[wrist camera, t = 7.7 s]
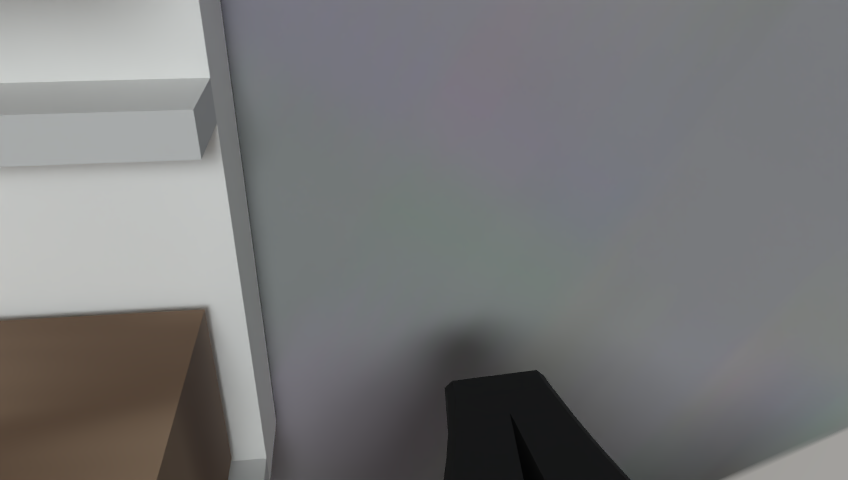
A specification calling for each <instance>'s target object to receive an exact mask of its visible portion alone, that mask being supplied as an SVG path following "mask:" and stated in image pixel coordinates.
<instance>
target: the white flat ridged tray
mask: <svg viewBox="0 0 848 480" xmlns="http://www.w3.org/2000/svg"><path fill="white" fill-rule="evenodd" d="M200 309H205V314H206V319H207V325H208V330H209V336H210V341H211V347H212V352H213V358H214V363H215V369H216V374H217V380H218V385H219V391H220V396H221V402H222V407H223V413H224V418H225V424H226V429H227V435H228V440H229V446H230V451H231V457H232V458H231V464H230V470H229V476H228V480H270V478H271V468H272V459H273V449H274V440H275V430H276V416H275V408H274V401H273V393H272V385H271V378H270V370H269V363H268V355H267V348H266V340H265V333H264V325H263V318H262V310H261V303H260V295H259V288H258V280H257V273H256V265H255V258H254V250H253V243H252V235H251V228H250V220H249V213H248V205H247V198H246V190H245V183H244V175H243V168H242V160H241V153H240V145H239V138H238V130H237V123H236V115H235V108H234V100H233V93H232V85H231V78H230V70H229V63H228V55H227V48H226V40H225V33H224V25H223V18H222V10H221V3H220V0H0V321H4V320H22V319H40V318H57V317H75V316H93V315H111V314H129V313H147V312H165V311H183V310H200Z"/></svg>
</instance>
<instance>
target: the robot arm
mask: <svg viewBox="0 0 848 480" xmlns="http://www.w3.org/2000/svg"><path fill="white" fill-rule="evenodd" d="M445 397H446V411H447V424H448V445H447V459H446V467H445V475H444V480H630V479H629V478H628V477H627V475H626V474H625V473H624V472H623V471H622V470H621V469H620V468H619V467H618V466H617V465H616V463H615V462H614V461H613V460H612V459H611V458H610V457H609V456H608V455H607V454H606V453H605V451H604V450H603V449H602V448H601V447H600V446H599V444H598V443H597V442H596V441H595V440H594V439H593V438H592V436H591V435H590V434H589V433H588V432H587V430H586V429H585V428H584V427H583V426H582V424H581V423H580V422H579V421H578V420H577V418H576V417H575V416H574V415H573V413H572V412H571V411H570V410H569V408H568V407H567V406H566V405H565V403H564V402H563V401H562V400H561V398H560V397H559V396H558V394H557V393H556V392H555V390H554V389H553V388H552V386H551V385H550V384H549V382H548V381H547V380H546V378H545V377H544V376H543V375H542V374H541V373H540V372H538V371H537V370H534V371H526V372H519V373H511V374H503V375H495V376H488V377H480V378H472V379H464V380H457V381H452V382H451V383H450V384H449V385H448V386H447V387H446V388H445Z"/></svg>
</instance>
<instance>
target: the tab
mask: <svg viewBox="0 0 848 480" xmlns="http://www.w3.org/2000/svg"><path fill="white" fill-rule="evenodd" d="M231 458H232V457H231V451H230V446H229V440H228V435H227V429H226V424H225V418H224V413H223V407H222V402H221V396H220V391H219V385H218V380H217V374H216V369H215V363H214V358H213V352H212V347H211V341H210V336H209V330H208V325H207V319H206V314H205V309H200V310H183V311H165V312H147V313H129V314H111V315H93V316H75V317H57V318H40V319H22V320H4V321H0V480H228V476H229V470H230V464H231Z"/></svg>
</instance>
